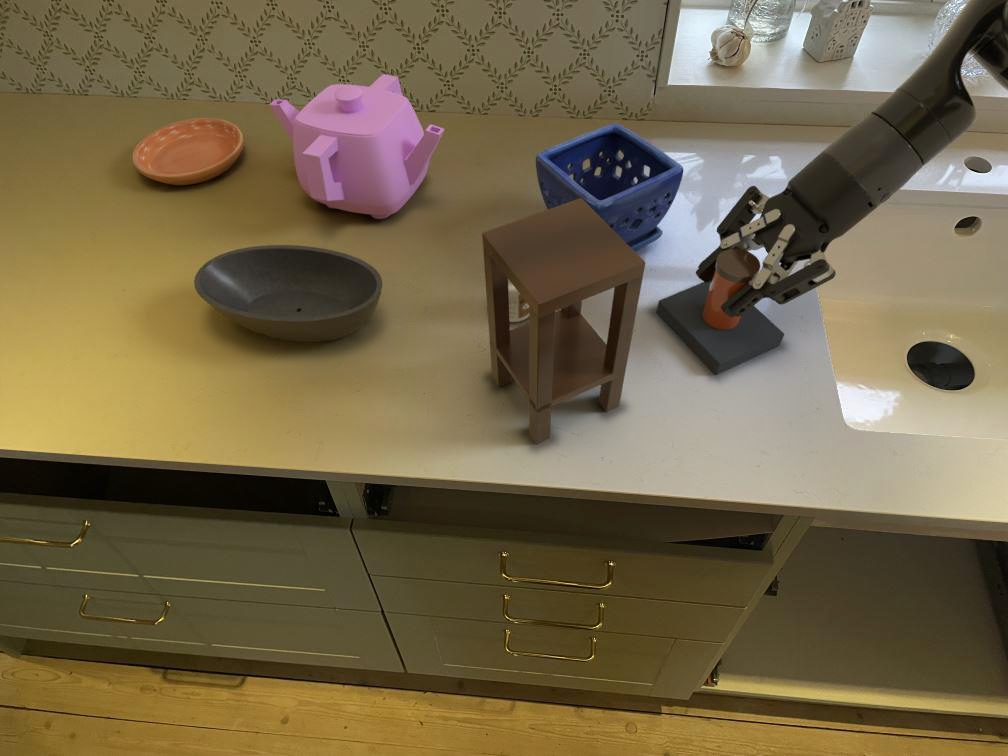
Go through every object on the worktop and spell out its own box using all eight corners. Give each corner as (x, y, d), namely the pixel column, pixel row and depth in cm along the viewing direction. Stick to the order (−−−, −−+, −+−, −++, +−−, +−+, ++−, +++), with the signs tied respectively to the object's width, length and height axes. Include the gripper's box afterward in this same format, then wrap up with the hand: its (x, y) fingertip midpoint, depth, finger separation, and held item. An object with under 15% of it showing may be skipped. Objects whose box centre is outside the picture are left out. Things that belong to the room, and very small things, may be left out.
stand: (619, 407, 68) (645, 262, 53) (536, 445, 66) (538, 304, 50) (570, 344, 74) (581, 197, 58) (492, 377, 71) (481, 232, 56)
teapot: (455, 209, 90) (444, 106, 79) (330, 250, 86) (298, 147, 74) (406, 143, 101) (389, 44, 90) (292, 176, 97) (259, 76, 85)
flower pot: (530, 231, 87) (530, 151, 78) (608, 196, 91) (617, 117, 82) (590, 288, 80) (598, 207, 70) (672, 247, 84) (690, 167, 75)
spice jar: (749, 322, 73) (769, 268, 66) (717, 336, 72) (735, 282, 65) (723, 297, 75) (741, 243, 69) (692, 311, 74) (707, 257, 68)
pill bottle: (529, 325, 76) (529, 276, 70) (492, 321, 77) (489, 272, 71) (535, 299, 79) (535, 249, 73) (499, 295, 79) (497, 246, 73)
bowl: (239, 275, 83) (221, 237, 78) (404, 294, 80) (396, 255, 75) (194, 345, 76) (171, 308, 71) (374, 369, 73) (363, 331, 68)
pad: (779, 345, 73) (785, 333, 71) (715, 375, 71) (719, 364, 69) (716, 286, 79) (720, 274, 78) (655, 312, 77) (658, 300, 75)
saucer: (210, 123, 107) (203, 105, 105) (269, 157, 100) (262, 139, 98) (121, 167, 100) (111, 149, 97) (177, 207, 93) (168, 189, 90)
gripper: (795, 118, 64) (664, 240, 72) (889, 202, 56) (730, 330, 63) (822, 156, 69) (698, 266, 77) (913, 237, 61) (763, 353, 68)
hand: (713, 294), depth 70 cm, fingers open, 5 cm apart
